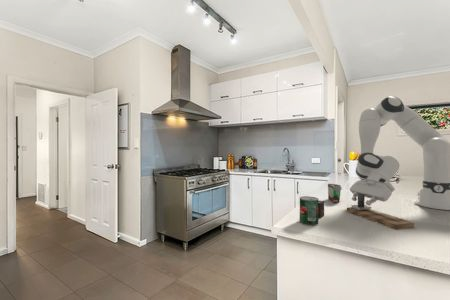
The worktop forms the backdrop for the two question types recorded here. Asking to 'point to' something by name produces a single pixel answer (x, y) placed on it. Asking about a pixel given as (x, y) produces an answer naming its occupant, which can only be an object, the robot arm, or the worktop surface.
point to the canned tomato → (309, 210)
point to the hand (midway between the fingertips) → (360, 202)
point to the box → (320, 209)
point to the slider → (361, 203)
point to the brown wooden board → (382, 218)
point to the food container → (334, 193)
